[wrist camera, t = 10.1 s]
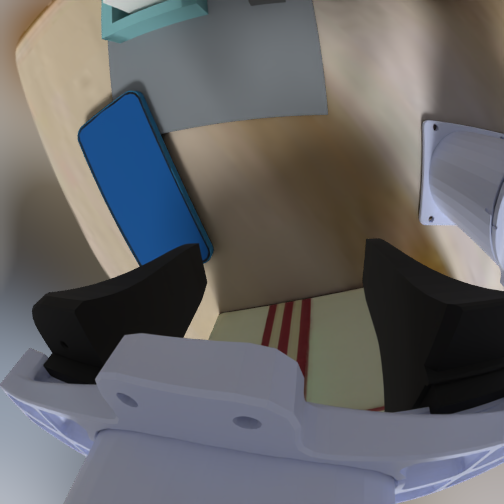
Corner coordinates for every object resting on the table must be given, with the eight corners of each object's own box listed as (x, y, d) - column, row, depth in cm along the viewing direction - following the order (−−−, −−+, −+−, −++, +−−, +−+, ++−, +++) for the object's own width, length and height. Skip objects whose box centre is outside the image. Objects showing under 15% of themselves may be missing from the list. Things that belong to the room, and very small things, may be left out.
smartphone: (135, 85, 16) (216, 260, 22) (142, 85, 17) (219, 254, 23) (74, 132, 19) (147, 279, 24) (81, 131, 19) (151, 274, 25)
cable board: (292, -74, 9) (289, -97, 6) (327, 114, 17) (333, 113, 14) (111, -27, 12) (88, -37, 9) (122, 143, 20) (95, 150, 17)
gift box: (182, 318, 28) (106, 468, 12) (368, 268, 22) (419, 481, 7) (250, 408, 34) (224, 521, 19) (389, 382, 28) (404, 514, 13)
